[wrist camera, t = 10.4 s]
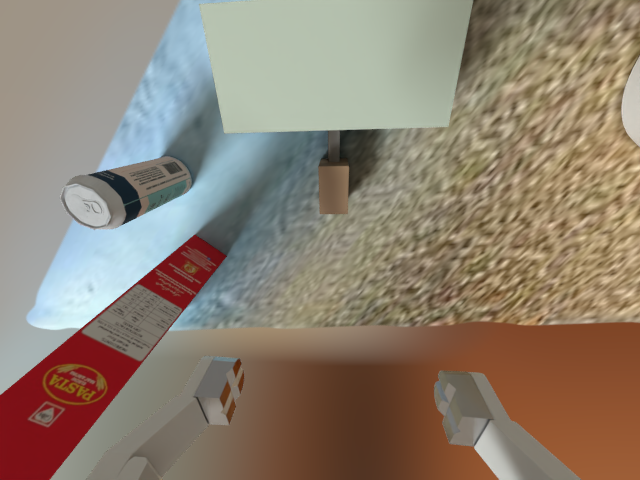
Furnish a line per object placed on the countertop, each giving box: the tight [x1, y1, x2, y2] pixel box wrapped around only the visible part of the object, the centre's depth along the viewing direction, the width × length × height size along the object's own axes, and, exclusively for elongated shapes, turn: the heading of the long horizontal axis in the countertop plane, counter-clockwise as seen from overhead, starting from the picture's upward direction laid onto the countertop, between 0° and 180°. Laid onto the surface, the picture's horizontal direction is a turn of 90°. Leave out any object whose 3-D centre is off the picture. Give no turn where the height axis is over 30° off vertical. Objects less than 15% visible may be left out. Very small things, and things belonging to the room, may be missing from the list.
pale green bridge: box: [199, 0, 473, 133], centre depth 21 cm, size 18×8×8 cm, turn 92°
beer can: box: [60, 156, 192, 230], centre depth 25 cm, size 5×5×12 cm
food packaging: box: [0, 235, 227, 480], centre depth 26 cm, size 15×5×25 cm, turn 139°
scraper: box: [318, 130, 349, 214], centre depth 24 cm, size 6×16×5 cm, turn 2°
